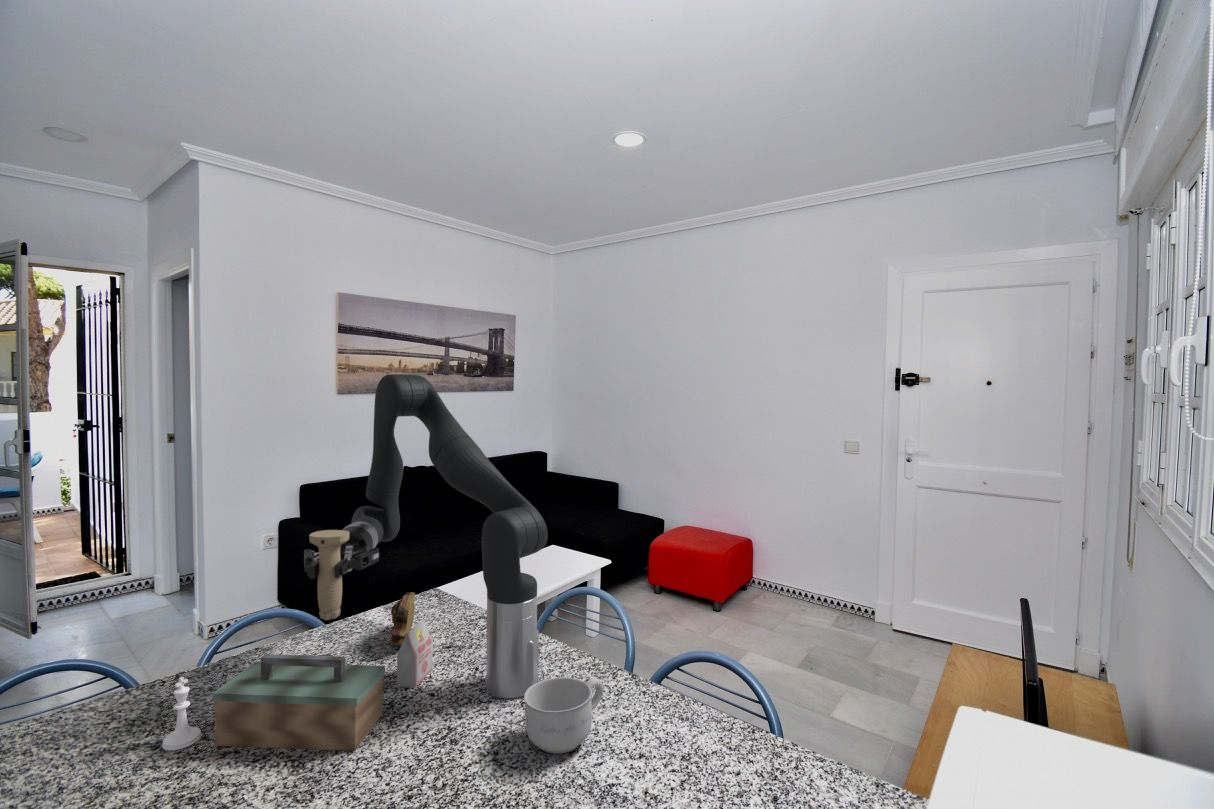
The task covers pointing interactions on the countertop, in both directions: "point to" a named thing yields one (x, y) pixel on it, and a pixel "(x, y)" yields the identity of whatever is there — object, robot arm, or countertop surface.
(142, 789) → the countertop surface
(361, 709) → the toolbox
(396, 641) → the wooden carving
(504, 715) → the countertop surface
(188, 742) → the chess piece
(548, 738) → the teacup
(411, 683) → the milk carton
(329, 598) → the handle
